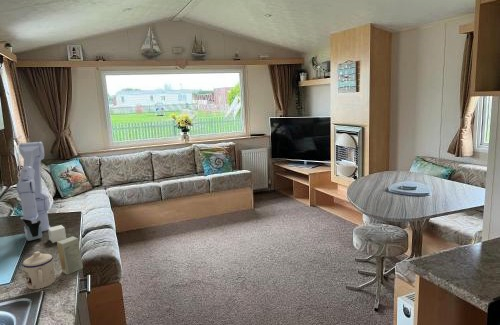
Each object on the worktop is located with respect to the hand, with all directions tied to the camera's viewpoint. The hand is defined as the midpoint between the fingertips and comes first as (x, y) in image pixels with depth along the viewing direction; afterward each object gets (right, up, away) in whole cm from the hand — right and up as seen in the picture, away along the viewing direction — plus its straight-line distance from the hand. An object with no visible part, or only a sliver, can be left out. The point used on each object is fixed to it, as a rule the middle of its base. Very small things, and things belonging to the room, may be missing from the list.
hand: (33, 234), depth 169 cm
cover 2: (+11, -2, 0) cm, 12 cm away
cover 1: (0, -1, 0) cm, 1 cm away
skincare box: (+34, -7, -32) cm, 47 cm away
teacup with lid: (+28, -9, -42) cm, 52 cm away
